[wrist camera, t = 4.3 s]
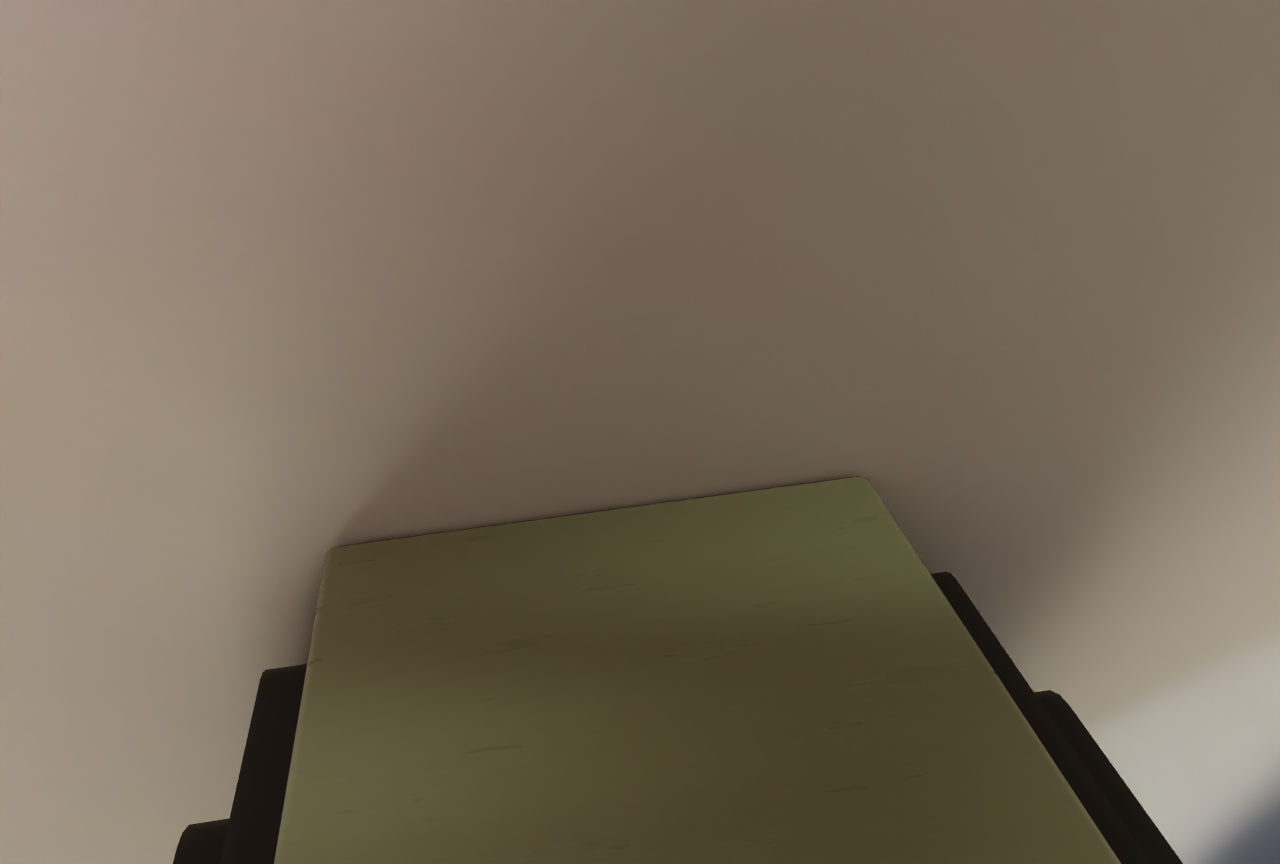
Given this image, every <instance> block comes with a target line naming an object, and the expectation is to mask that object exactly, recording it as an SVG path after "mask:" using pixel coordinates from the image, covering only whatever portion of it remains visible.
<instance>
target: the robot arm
mask: <svg viewBox="0 0 1280 864" xmlns="http://www.w3.org/2000/svg"><path fill="white" fill-rule="evenodd" d="M930 575H931V576H932V578H933V579H934V581H935V582H936V584H937V585H938V587H939V588H940V590H941V591H942V593H943V594H944V596H945V597H946V599H947V600H948V602H949V603H950V605H951V606H952V608H953V609H954V611H955V612H956V614H957V615H958V617H959V619H960V620H961V622H962V623H963V625H964V626H965V628H966V629H967V631H968V632H969V634H970V635H971V637H972V638H973V640H974V641H975V643H976V644H977V646H978V647H979V649H980V650H981V652H982V653H983V655H984V656H985V658H986V659H987V661H988V663H989V664H990V666H991V667H992V669H993V670H994V672H995V673H996V675H997V676H998V678H999V679H1000V681H1001V682H1002V684H1003V685H1004V687H1005V688H1006V690H1007V691H1008V693H1009V694H1010V696H1011V697H1012V699H1013V700H1014V702H1015V703H1016V705H1017V706H1018V708H1019V710H1020V711H1021V713H1022V714H1023V716H1024V717H1025V719H1026V720H1027V722H1028V723H1029V725H1030V726H1031V728H1032V729H1033V731H1034V732H1035V734H1036V735H1037V737H1038V738H1039V740H1040V741H1041V743H1042V744H1043V746H1044V747H1045V749H1046V750H1047V752H1048V754H1049V755H1050V757H1051V758H1052V760H1053V761H1054V763H1055V764H1056V766H1057V767H1058V769H1059V770H1060V772H1061V773H1062V775H1063V776H1064V778H1065V779H1066V781H1067V782H1068V784H1069V785H1070V787H1071V788H1072V790H1073V791H1074V793H1075V794H1076V796H1077V797H1078V799H1079V801H1080V802H1081V804H1082V805H1083V807H1084V808H1085V810H1086V811H1087V813H1088V814H1089V816H1090V817H1091V819H1092V820H1093V822H1094V823H1095V825H1096V826H1097V828H1098V829H1099V831H1100V832H1101V834H1102V835H1103V837H1104V838H1105V840H1106V841H1107V843H1108V845H1109V846H1110V848H1111V849H1112V851H1113V852H1114V854H1115V855H1116V857H1117V858H1118V860H1119V861H1120V863H1121V864H1183V863H1182V862H1181V860H1180V859H1179V858H1178V856H1177V855H1176V853H1175V852H1174V851H1173V849H1172V848H1171V846H1170V845H1169V844H1168V842H1167V841H1166V839H1165V838H1164V837H1163V835H1162V834H1161V832H1160V831H1159V830H1158V828H1157V827H1156V826H1155V824H1154V823H1153V821H1152V820H1151V819H1150V817H1149V816H1148V814H1147V813H1146V812H1145V810H1144V809H1143V807H1142V806H1141V805H1140V803H1139V802H1138V800H1137V799H1136V798H1135V796H1134V795H1133V793H1132V792H1131V791H1130V789H1129V788H1128V787H1127V785H1126V784H1125V782H1124V781H1123V780H1122V778H1121V777H1120V775H1119V774H1118V773H1117V771H1116V770H1115V768H1114V767H1113V766H1112V764H1111V763H1110V761H1109V760H1108V759H1107V757H1106V756H1105V754H1104V753H1103V752H1102V750H1101V749H1100V748H1099V746H1098V745H1097V743H1096V742H1095V741H1094V739H1093V738H1092V736H1091V735H1090V734H1089V732H1088V731H1087V729H1086V728H1085V727H1084V725H1083V724H1082V722H1081V721H1080V720H1079V718H1078V717H1077V715H1076V714H1075V713H1074V711H1073V710H1072V709H1071V707H1070V706H1069V705H1068V704H1067V702H1066V701H1065V700H1064V699H1063V698H1062V697H1061V696H1060V695H1059V694H1057V693H1055V692H1053V691H1051V690H1048V691H1041V692H1035V693H1034V692H1033V690H1032V689H1031V688H1030V686H1029V685H1028V683H1027V682H1026V680H1025V679H1024V677H1023V676H1022V674H1021V673H1020V672H1019V670H1018V669H1017V667H1016V666H1015V664H1014V663H1013V661H1012V660H1011V658H1010V657H1009V656H1008V654H1007V653H1006V651H1005V650H1004V648H1003V647H1002V645H1001V644H1000V642H999V641H998V640H997V638H996V637H995V635H994V634H993V632H992V631H991V629H990V628H989V626H988V625H987V624H986V622H985V621H984V619H983V618H982V616H981V615H980V613H979V612H978V610H977V609H976V608H975V606H974V605H973V603H972V602H971V600H970V599H969V597H968V596H967V594H966V593H965V592H964V590H963V589H962V587H961V586H960V584H959V583H958V581H957V580H956V579H955V578H954V576H953V575H952V574H951V573H948V572H941V573H934V574H930ZM306 668H307V664H304V665H297V666H290V667H283V668H276V669H269V670H265V671H264V672H263V673H262V676H261V679H260V683H259V687H258V692H257V697H256V701H255V706H254V710H253V715H252V719H251V724H250V729H249V733H248V738H247V742H246V747H245V751H244V756H243V760H242V765H241V770H240V774H239V779H238V783H237V788H236V792H235V797H234V802H233V806H232V811H231V815H230V819H224V820H217V821H211V822H204V823H198V824H192V825H189V826H188V827H187V828H186V829H185V830H184V832H183V833H182V836H181V838H180V841H179V844H178V847H177V850H176V854H175V858H174V861H173V864H274V860H275V854H276V848H277V842H278V836H279V830H280V824H281V818H282V812H283V806H284V800H285V794H286V788H287V782H288V776H289V770H290V764H291V758H292V752H293V746H294V740H295V734H296V728H297V722H298V716H299V710H300V704H301V698H302V692H303V686H304V680H305V674H306Z"/></svg>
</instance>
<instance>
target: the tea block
mask: <svg viewBox="0 0 1280 864" xmlns="http://www.w3.org/2000/svg"><path fill="white" fill-rule="evenodd" d="M274 864H1121V863H1120V861H1119V860H1118V858H1117V857H1116V855H1115V854H1114V852H1113V851H1112V849H1111V848H1110V846H1109V845H1108V843H1107V841H1106V840H1105V838H1104V837H1103V835H1102V834H1101V832H1100V831H1099V829H1098V828H1097V826H1096V825H1095V823H1094V822H1093V820H1092V819H1091V817H1090V816H1089V814H1088V813H1087V811H1086V810H1085V808H1084V807H1083V805H1082V804H1081V802H1080V801H1079V799H1078V797H1077V796H1076V794H1075V793H1074V791H1073V790H1072V788H1071V787H1070V785H1069V784H1068V782H1067V781H1066V779H1065V778H1064V776H1063V775H1062V773H1061V772H1060V770H1059V769H1058V767H1057V766H1056V764H1055V763H1054V761H1053V760H1052V758H1051V757H1050V755H1049V754H1048V752H1047V750H1046V749H1045V747H1044V746H1043V744H1042V743H1041V741H1040V740H1039V738H1038V737H1037V735H1036V734H1035V732H1034V731H1033V729H1032V728H1031V726H1030V725H1029V723H1028V722H1027V720H1026V719H1025V717H1024V716H1023V714H1022V713H1021V711H1020V710H1019V708H1018V706H1017V705H1016V703H1015V702H1014V700H1013V699H1012V697H1011V696H1010V694H1009V693H1008V691H1007V690H1006V688H1005V687H1004V685H1003V684H1002V682H1001V681H1000V679H999V678H998V676H997V675H996V673H995V672H994V670H993V669H992V667H991V666H990V664H989V663H988V661H987V659H986V658H985V656H984V655H983V653H982V652H981V650H980V649H979V647H978V646H977V644H976V643H975V641H974V640H973V638H972V637H971V635H970V634H969V632H968V631H967V629H966V628H965V626H964V625H963V623H962V622H961V620H960V619H959V617H958V615H957V614H956V612H955V611H954V609H953V608H952V606H951V605H950V603H949V602H948V600H947V599H946V597H945V596H944V594H943V593H942V591H941V590H940V588H939V587H938V585H937V584H936V582H935V581H934V579H933V578H932V576H931V575H930V573H929V572H928V570H927V568H926V567H925V565H924V564H923V562H922V561H921V559H920V558H919V556H918V555H917V553H916V552H915V550H914V549H913V547H912V546H911V544H910V543H909V541H908V540H907V538H906V537H905V535H904V534H903V532H902V531H901V529H900V528H899V526H898V524H897V523H896V521H895V520H894V518H893V517H892V515H891V514H890V512H889V511H888V509H887V508H886V506H885V505H884V503H883V502H882V500H881V499H880V497H879V496H878V494H877V493H876V491H875V490H874V488H873V487H872V485H871V484H870V482H869V481H868V479H866V478H864V477H852V478H844V479H837V480H830V481H822V482H815V483H807V484H800V485H792V486H785V487H778V488H770V489H763V490H755V491H748V492H740V493H733V494H726V495H718V496H711V497H703V498H696V499H689V500H681V501H674V502H666V503H659V504H651V505H644V506H637V507H629V508H622V509H614V510H607V511H599V512H592V513H585V514H577V515H570V516H562V517H555V518H548V519H540V520H533V521H525V522H518V523H510V524H503V525H496V526H488V527H481V528H473V529H466V530H458V531H451V532H444V533H436V534H429V535H421V536H414V537H406V538H399V539H392V540H384V541H377V542H369V543H362V544H355V545H347V546H340V547H334V548H331V549H329V550H328V551H327V552H326V556H325V560H324V566H323V572H322V578H321V584H320V590H319V596H318V602H317V608H316V614H315V620H314V626H313V632H312V638H311V644H310V650H309V656H308V662H307V668H306V674H305V680H304V686H303V692H302V698H301V704H300V710H299V716H298V722H297V728H296V734H295V740H294V746H293V752H292V758H291V764H290V770H289V776H288V782H287V788H286V794H285V800H284V806H283V812H282V818H281V824H280V830H279V836H278V842H277V848H276V854H275V860H274Z"/></svg>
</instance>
